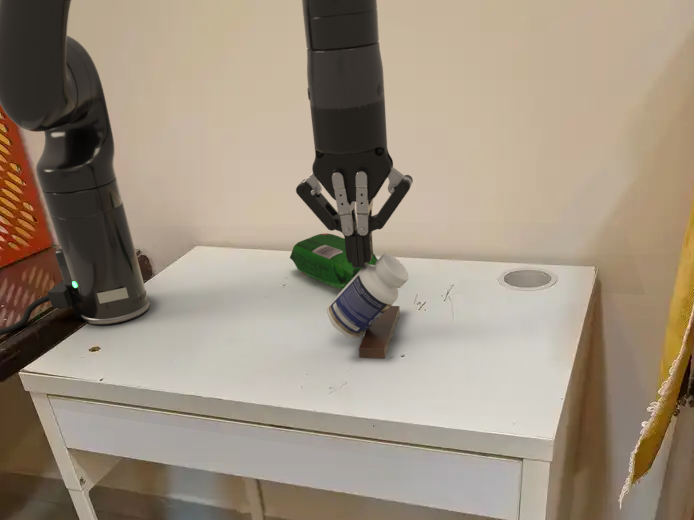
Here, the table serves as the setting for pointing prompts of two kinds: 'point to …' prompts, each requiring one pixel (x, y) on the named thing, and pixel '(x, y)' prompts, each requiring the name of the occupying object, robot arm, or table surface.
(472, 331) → the table surface
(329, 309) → the pill bottle
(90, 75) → the robot arm
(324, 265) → the snack package
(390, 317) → the bar
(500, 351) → the table surface
